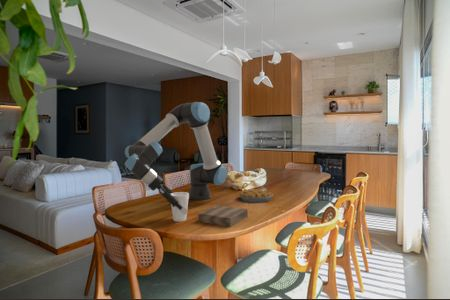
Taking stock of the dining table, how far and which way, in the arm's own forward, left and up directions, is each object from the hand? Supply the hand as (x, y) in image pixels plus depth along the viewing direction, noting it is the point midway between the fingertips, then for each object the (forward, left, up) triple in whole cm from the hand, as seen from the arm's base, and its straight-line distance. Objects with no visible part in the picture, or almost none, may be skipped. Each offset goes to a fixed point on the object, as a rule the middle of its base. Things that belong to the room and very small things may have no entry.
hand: (185, 210), depth 145 cm
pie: (+13, +58, -5) cm, 60 cm away
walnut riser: (+17, +9, -5) cm, 19 cm away
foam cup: (-2, -2, -5) cm, 6 cm away
